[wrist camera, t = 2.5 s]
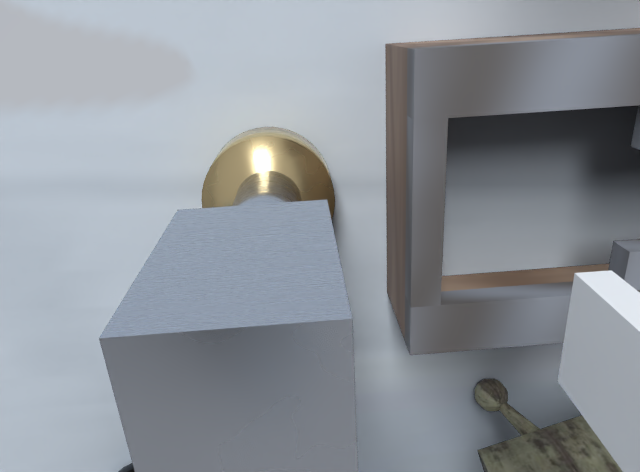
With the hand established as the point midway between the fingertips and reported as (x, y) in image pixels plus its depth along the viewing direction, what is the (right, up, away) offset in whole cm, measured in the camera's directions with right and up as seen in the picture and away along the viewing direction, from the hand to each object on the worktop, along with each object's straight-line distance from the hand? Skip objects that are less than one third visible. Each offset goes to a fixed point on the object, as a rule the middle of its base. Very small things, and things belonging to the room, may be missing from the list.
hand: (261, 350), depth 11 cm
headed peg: (-1, +4, +11) cm, 12 cm away
